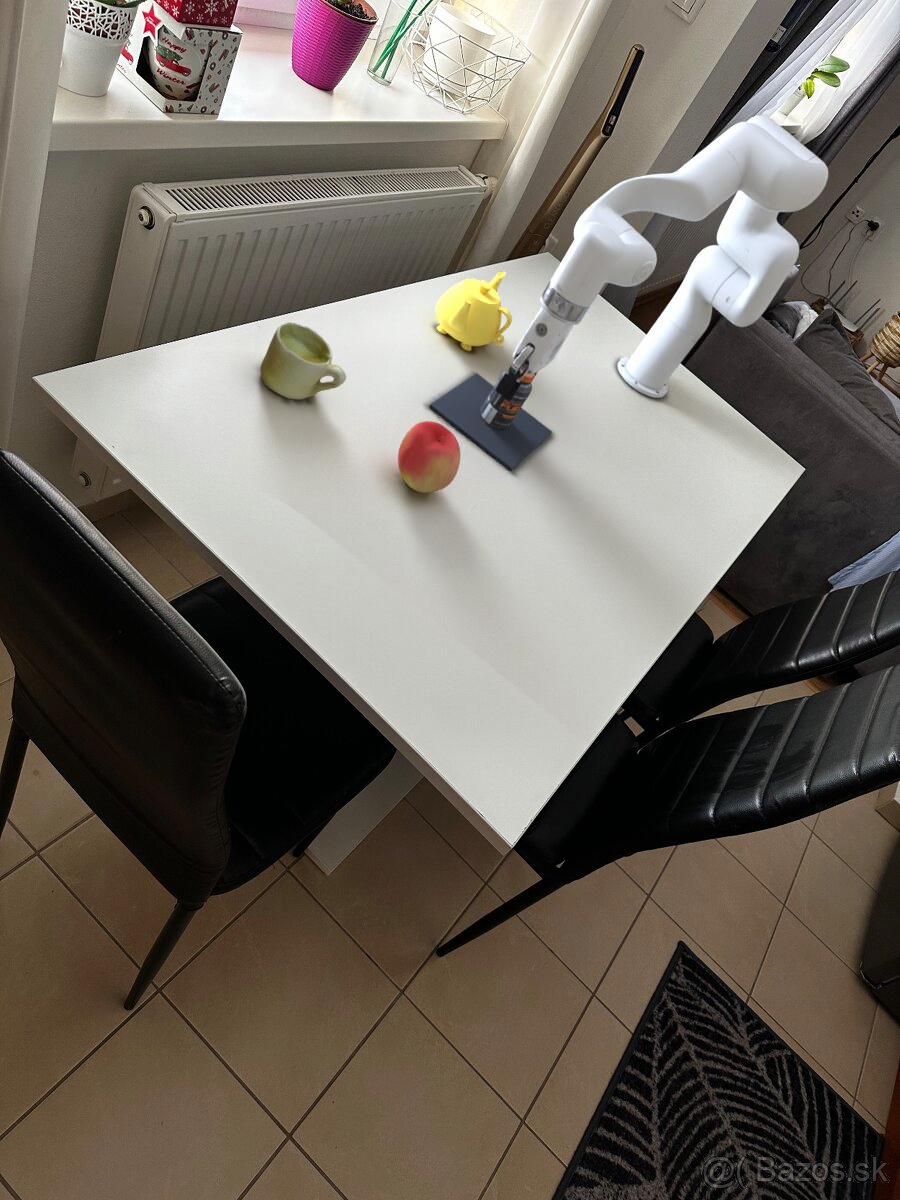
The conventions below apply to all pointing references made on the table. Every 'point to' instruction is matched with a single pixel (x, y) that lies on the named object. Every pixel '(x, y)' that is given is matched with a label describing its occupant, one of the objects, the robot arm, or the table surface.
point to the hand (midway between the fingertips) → (512, 388)
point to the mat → (500, 443)
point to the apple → (428, 457)
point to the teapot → (473, 312)
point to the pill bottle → (506, 403)
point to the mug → (299, 363)
